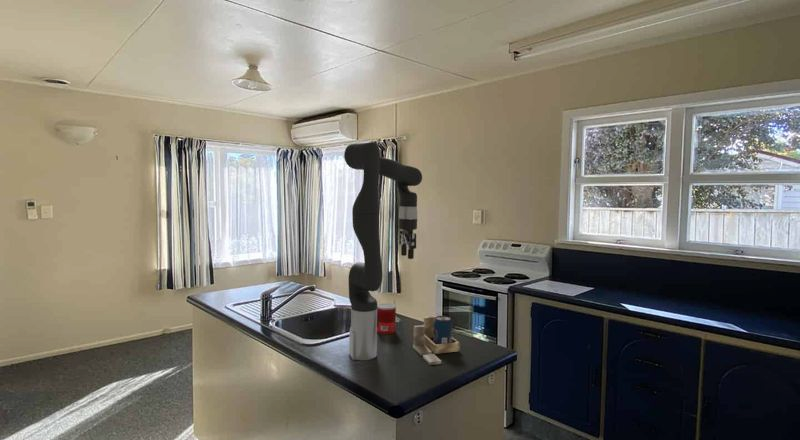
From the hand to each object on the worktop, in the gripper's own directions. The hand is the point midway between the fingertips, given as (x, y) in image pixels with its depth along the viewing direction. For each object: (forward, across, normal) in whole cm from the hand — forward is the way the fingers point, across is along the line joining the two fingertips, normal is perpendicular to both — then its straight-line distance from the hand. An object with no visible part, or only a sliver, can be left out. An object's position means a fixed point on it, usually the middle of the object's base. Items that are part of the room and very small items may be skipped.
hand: (407, 257), depth 171 cm
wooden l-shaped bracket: (+32, +23, 0) cm, 40 cm away
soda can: (+32, +20, +8) cm, 39 cm away
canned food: (+32, -5, -7) cm, 33 cm away
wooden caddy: (+32, +15, +8) cm, 36 cm away
